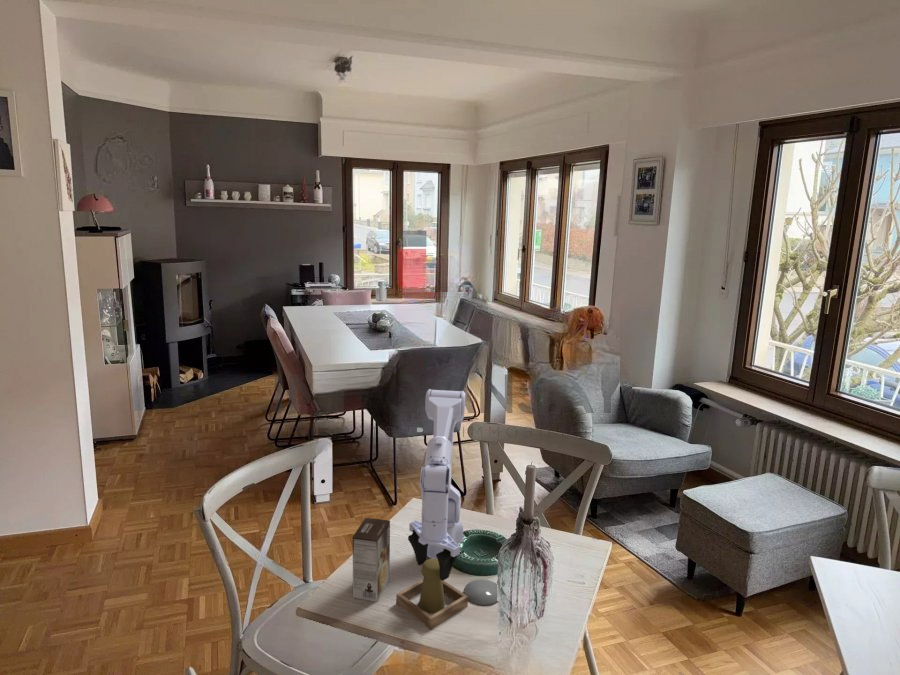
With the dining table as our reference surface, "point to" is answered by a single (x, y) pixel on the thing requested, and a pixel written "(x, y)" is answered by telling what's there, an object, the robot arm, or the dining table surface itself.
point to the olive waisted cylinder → (431, 588)
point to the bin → (441, 615)
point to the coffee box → (371, 559)
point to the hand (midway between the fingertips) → (432, 570)
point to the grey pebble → (481, 592)
